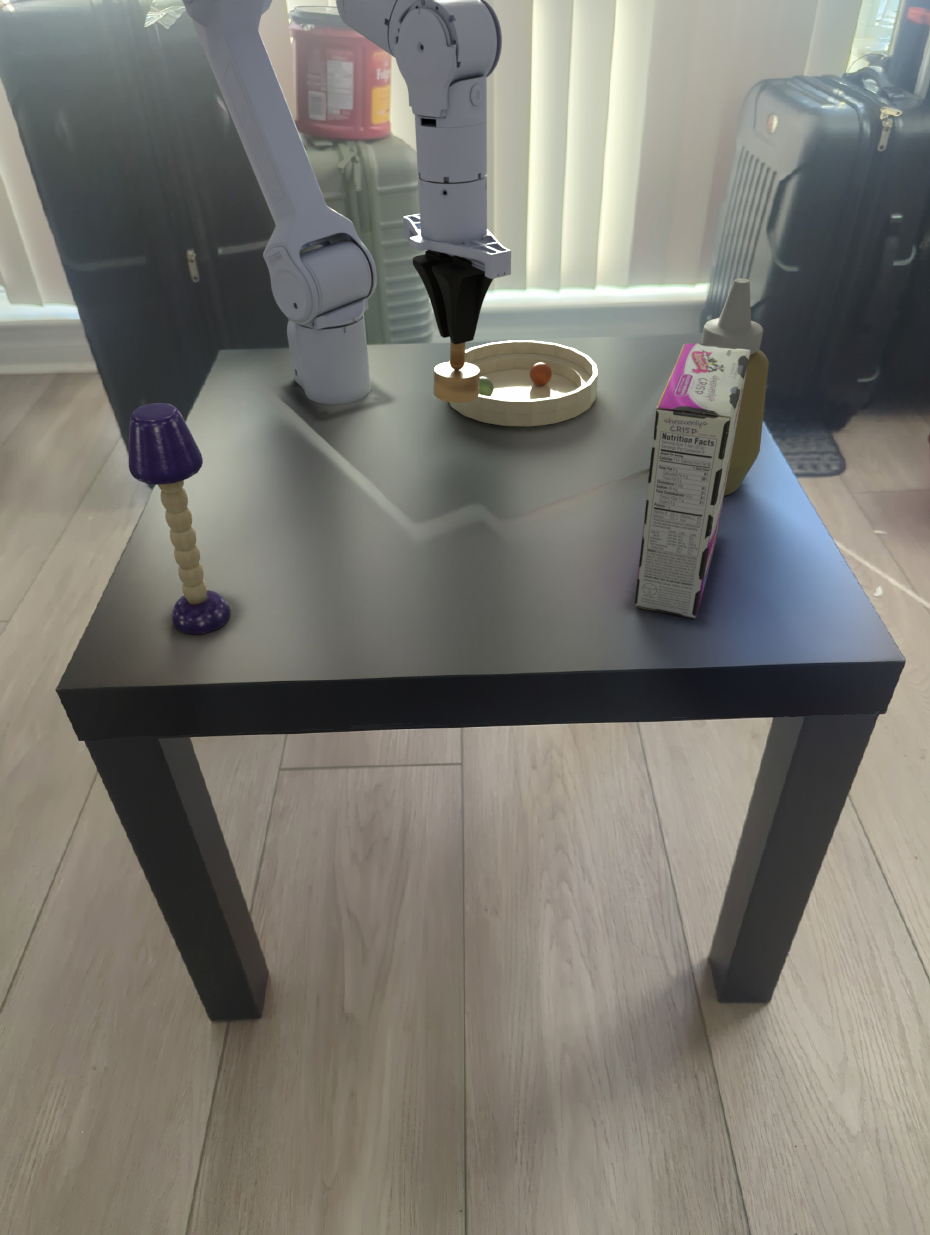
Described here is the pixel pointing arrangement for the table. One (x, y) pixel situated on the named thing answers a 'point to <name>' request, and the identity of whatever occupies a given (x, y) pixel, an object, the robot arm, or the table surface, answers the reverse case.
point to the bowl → (530, 384)
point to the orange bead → (540, 373)
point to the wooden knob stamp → (456, 377)
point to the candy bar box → (689, 476)
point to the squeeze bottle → (745, 334)
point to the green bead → (486, 387)
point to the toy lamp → (176, 507)
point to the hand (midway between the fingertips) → (456, 338)
